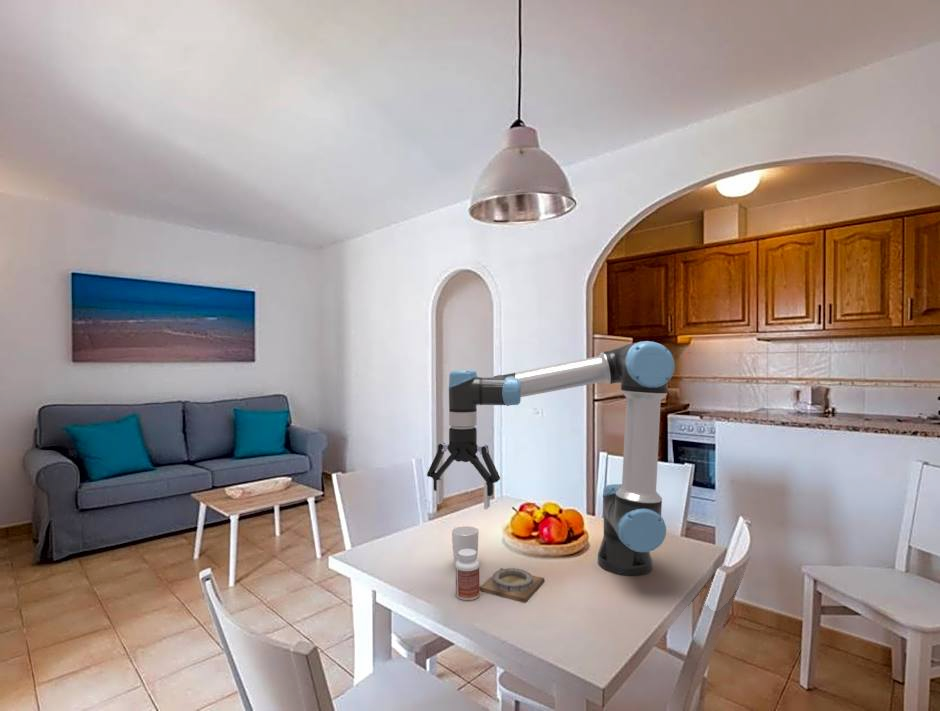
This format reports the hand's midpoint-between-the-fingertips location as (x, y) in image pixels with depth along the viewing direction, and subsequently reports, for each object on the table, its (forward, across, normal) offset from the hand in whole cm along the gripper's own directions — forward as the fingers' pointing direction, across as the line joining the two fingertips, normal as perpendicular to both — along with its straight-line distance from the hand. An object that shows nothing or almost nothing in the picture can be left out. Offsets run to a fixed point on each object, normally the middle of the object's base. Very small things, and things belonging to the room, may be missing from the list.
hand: (462, 505), depth 132 cm
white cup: (+21, +3, -11) cm, 24 cm away
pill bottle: (+21, -4, +6) cm, 22 cm away
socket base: (+21, -13, -2) cm, 25 cm away
